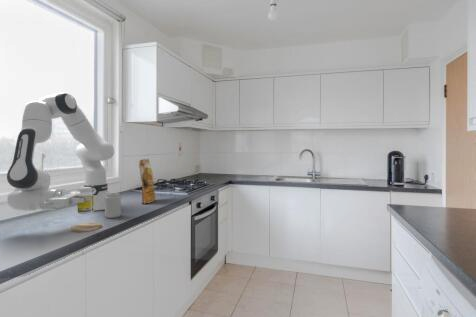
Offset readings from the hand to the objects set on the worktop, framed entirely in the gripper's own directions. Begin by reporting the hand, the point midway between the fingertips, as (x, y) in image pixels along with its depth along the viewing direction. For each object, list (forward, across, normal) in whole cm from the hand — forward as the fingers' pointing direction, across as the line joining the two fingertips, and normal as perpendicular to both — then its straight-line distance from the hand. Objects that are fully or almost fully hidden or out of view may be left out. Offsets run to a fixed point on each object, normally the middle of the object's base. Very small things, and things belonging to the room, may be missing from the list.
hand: (87, 198), depth 121 cm
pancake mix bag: (+17, +56, +13) cm, 60 cm away
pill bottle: (-1, 0, +6) cm, 6 cm away
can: (+5, +19, +13) cm, 24 cm away
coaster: (-1, 0, +13) cm, 13 cm away
